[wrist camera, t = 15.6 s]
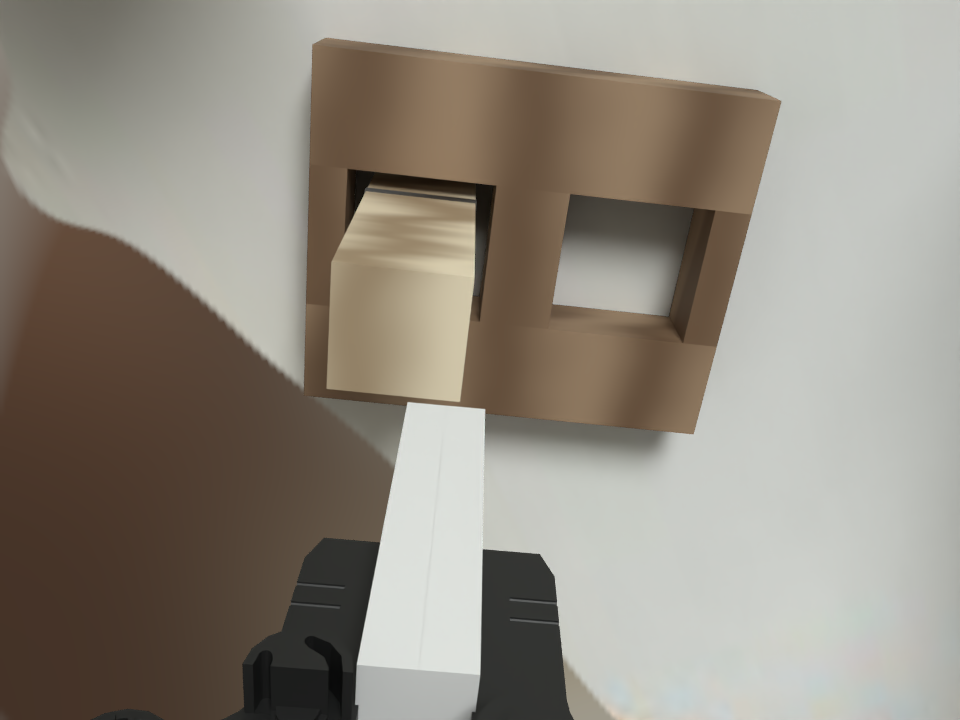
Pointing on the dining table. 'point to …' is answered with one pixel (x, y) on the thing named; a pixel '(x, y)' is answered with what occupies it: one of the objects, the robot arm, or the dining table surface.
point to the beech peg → (404, 289)
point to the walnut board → (544, 216)
